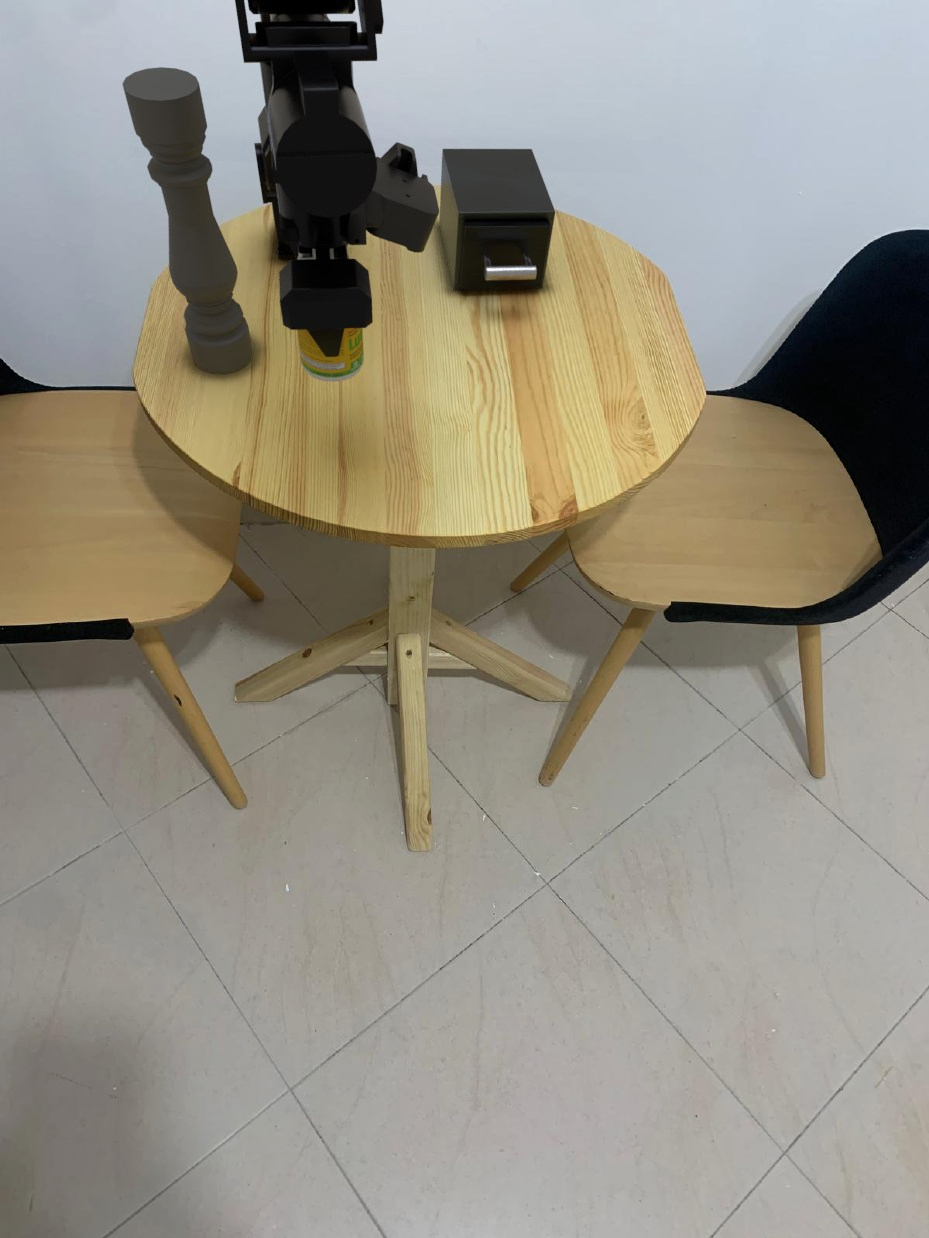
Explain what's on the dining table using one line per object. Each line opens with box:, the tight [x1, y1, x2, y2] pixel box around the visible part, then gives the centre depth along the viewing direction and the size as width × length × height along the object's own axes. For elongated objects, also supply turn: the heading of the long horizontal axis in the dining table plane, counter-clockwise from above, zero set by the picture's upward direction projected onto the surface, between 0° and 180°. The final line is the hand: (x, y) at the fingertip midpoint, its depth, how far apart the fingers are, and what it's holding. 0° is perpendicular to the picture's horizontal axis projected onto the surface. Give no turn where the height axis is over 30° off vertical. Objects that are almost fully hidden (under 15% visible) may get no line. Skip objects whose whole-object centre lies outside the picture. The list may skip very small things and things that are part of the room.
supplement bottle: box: [296, 248, 365, 383], centre depth 63 cm, size 5×5×10 cm
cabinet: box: [438, 148, 556, 291], centre depth 90 cm, size 14×11×9 cm
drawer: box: [459, 219, 551, 290], centre depth 88 cm, size 17×9×7 cm, turn 8°
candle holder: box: [122, 66, 254, 375], centre depth 70 cm, size 6×6×25 cm
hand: (330, 333), depth 64 cm, fingers closed on supplement bottle, 5 cm apart
